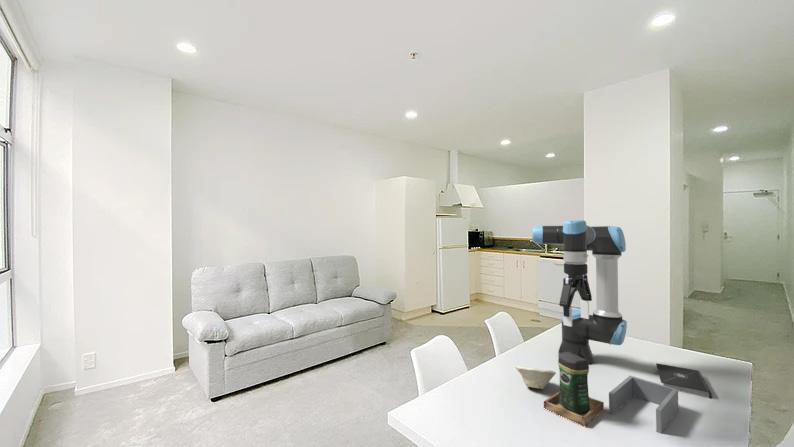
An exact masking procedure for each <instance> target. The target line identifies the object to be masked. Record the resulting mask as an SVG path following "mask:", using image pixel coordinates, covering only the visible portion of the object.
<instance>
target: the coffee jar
mask: <svg viewBox="0 0 794 447" xmlns="http://www.w3.org/2000/svg"><path fill="white" fill-rule="evenodd" d="M557 361H558V362H557V365H558V369H559V389H558V392H559V403H560V404H561V405H562V406H563V407H565V408H566V409H568V410H569V411H571V412H573V413H580V414H584V413H587V412H589V411H590V403H589V397H590V395H589V383H588V377H589V376H588V375H589V372H590V366H589V364H588V361H587V360H586V359H584V358H581V357H579V356H577V355H575V354H572V353H571V352H562V353H560V355H559V356H558V360H557Z"/></svg>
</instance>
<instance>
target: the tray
mask: <svg viewBox="0 0 794 447" xmlns="http://www.w3.org/2000/svg"><path fill="white" fill-rule="evenodd" d="M589 403H590V411H589V412H587V413H584V414H580V413H573V412H571V411H569V410H568V409H566V408H565V407H563V406H562V405H561V404H560V403H559V391H557V392H556V393H555V394H553V395H551V396H549V397H548V398H547V399H545V400H544V401H543V409H544V408H545V409H547V410H549V411H551V412H550V413H552V412H554V413H556V414H558V415H557V416H559V415H560V416H559V417H561V416H562V417H561V418H563V417H564V418H563V419H565V418H567V419H566V420H568V419H569V420H568V421H570V420H571V421H570V422H572V421H574V422H573V423H575V422H576V423H575V424H577V423H578V424H577V425H579V424H580V425H579V426H581V425H582V427H584V426H585V427H586V426H587V425H589V424H590V423H591V422H592V421H593V420H594V419H595V418H596V417H598V416H597V415H598V414H599V415H600V414H601V413H602V412H603V411H604V410H605V409H604V407H605V406H604V404H605V403H604V401H601V400H599V399H595V398H593V397H591V396H589ZM545 409H544V410H545ZM547 410H546V411H547ZM549 411H548V412H549ZM554 413H553V414H554ZM556 414H555V415H556ZM590 421H591V422H590ZM589 422H590V423H589ZM588 423H589V424H588Z"/></svg>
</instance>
